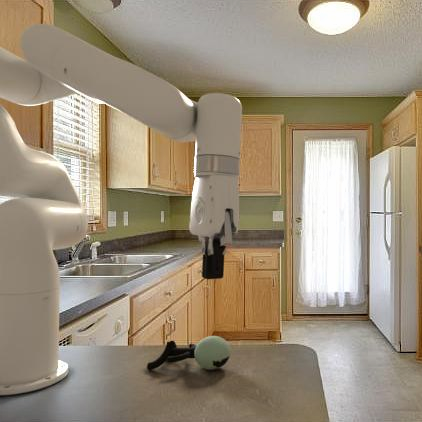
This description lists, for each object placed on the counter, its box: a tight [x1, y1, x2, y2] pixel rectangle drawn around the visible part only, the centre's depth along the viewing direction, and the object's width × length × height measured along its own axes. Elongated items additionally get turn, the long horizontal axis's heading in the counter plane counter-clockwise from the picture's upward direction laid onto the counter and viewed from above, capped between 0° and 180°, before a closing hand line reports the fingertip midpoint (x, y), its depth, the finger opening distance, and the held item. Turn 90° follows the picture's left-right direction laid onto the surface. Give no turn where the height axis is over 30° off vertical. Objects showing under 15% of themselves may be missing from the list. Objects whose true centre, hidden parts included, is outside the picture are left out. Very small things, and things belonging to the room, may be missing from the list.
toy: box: [146, 335, 231, 371], centre depth 73 cm, size 10×6×15 cm
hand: (212, 277), depth 64 cm, fingers closed
